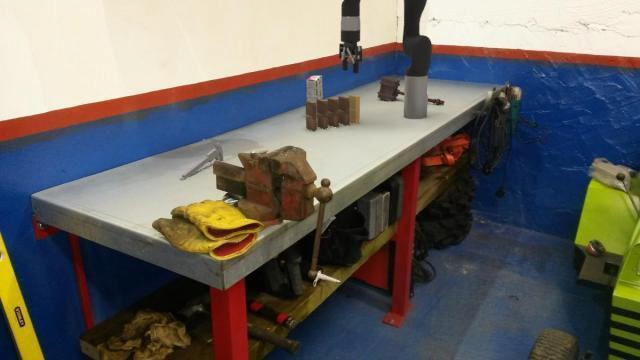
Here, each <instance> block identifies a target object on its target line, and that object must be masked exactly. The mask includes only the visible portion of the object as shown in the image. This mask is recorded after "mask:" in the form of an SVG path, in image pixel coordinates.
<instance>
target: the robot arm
mask: <svg viewBox="0 0 640 360" xmlns="http://www.w3.org/2000/svg"><path fill="white" fill-rule="evenodd" d="M361 1H362V0H343V1H342V2H341V9H340V12H341V14H340V16H341V18H340V42H341V43H339V48H338V49H339V50H338V60H341V70H342V71H343V72H346V71H348V69H349V61H348V60H349V58H350V60H351V62H352V74H359V69H360V68H359V66H360V65H359V64H360V63H362V62H363V46H362V45H358V43H359V42H360V41H361ZM427 1H428V0H403V29H402V30H403V31H402V41H401V42H402V44H401V45H402V48H401V49H402V52H403V54H404V55H405V56H406V57H407V58H410V59H411V62H410V65H409V66H408V67H406V68H405V69H404V89H403V90H404V91H403V92H404V95H403V117H404V118H407V119H414V120H415V119H423V118H427V117H428V103H429V102H428V97H429V95H428V76H429V70H430V69H431V60H432V53H433V52H432V51H433V45H432V41H431V39H430V37H429V36H427V35H424V34H421V32H420V27H421V26H420V24H421V18H422V15H423V13H424V10H425V7H426V5H427Z"/></svg>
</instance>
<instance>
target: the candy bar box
mask: <svg viewBox="0 0 640 360" xmlns="http://www.w3.org/2000/svg"><path fill="white" fill-rule="evenodd" d="M305 83H306V85H305V86H306V88H305V89H306V101H308V100H310V101H313V102H316V108H317V99H323V100H324V96H323V75H311V76H309V77H308V78H307V79H306V80H305Z"/></svg>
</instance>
